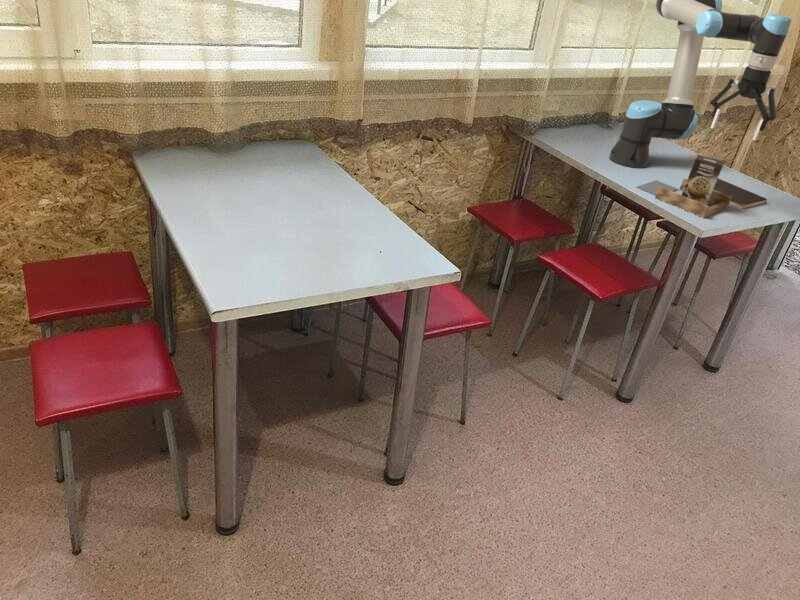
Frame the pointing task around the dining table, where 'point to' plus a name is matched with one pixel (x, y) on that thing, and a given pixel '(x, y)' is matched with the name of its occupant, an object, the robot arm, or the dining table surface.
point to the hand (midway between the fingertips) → (733, 133)
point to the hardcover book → (738, 194)
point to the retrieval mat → (655, 187)
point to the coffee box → (702, 178)
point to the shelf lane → (692, 205)
